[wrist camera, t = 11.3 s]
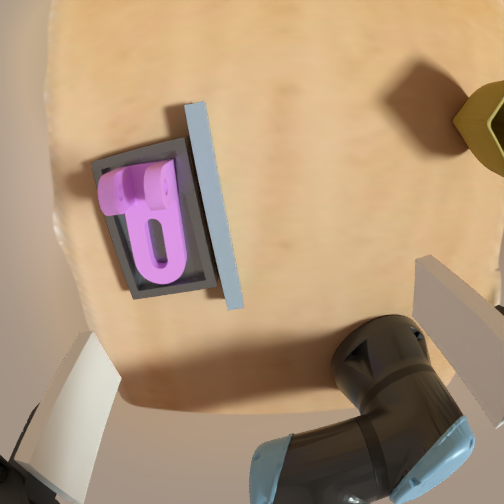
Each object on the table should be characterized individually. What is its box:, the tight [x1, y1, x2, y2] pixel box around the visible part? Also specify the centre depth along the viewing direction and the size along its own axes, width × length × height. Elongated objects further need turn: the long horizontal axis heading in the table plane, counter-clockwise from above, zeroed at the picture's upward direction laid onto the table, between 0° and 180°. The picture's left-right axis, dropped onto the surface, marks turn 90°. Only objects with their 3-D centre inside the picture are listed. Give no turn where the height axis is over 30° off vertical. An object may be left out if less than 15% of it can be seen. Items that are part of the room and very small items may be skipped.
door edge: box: [184, 101, 244, 310], centre depth 31 cm, size 22×2×2 cm, turn 9°
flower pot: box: [453, 81, 504, 177], centre depth 25 cm, size 9×9×9 cm
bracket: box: [98, 159, 187, 284], centre depth 28 cm, size 13×6×7 cm, turn 3°
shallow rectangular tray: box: [91, 137, 218, 300], centre depth 31 cm, size 16×10×2 cm, turn 9°
